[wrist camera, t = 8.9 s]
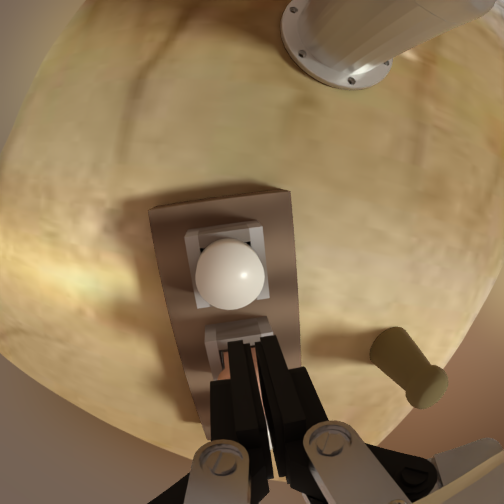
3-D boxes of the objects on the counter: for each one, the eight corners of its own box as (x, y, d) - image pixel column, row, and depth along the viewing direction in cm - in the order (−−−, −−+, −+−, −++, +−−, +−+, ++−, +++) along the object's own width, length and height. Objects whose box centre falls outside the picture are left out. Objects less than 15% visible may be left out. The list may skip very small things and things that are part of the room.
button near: (194, 235, 24) (190, 249, 20) (251, 227, 25) (260, 240, 20) (203, 288, 26) (201, 314, 21) (257, 280, 26) (267, 304, 21)
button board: (154, 206, 26) (139, 215, 21) (282, 189, 27) (300, 193, 22) (206, 423, 34) (207, 457, 28) (296, 409, 35) (308, 441, 29)
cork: (361, 361, 34) (402, 416, 24) (386, 321, 33) (437, 370, 23) (391, 368, 36) (432, 417, 25) (414, 332, 34) (463, 376, 24)
